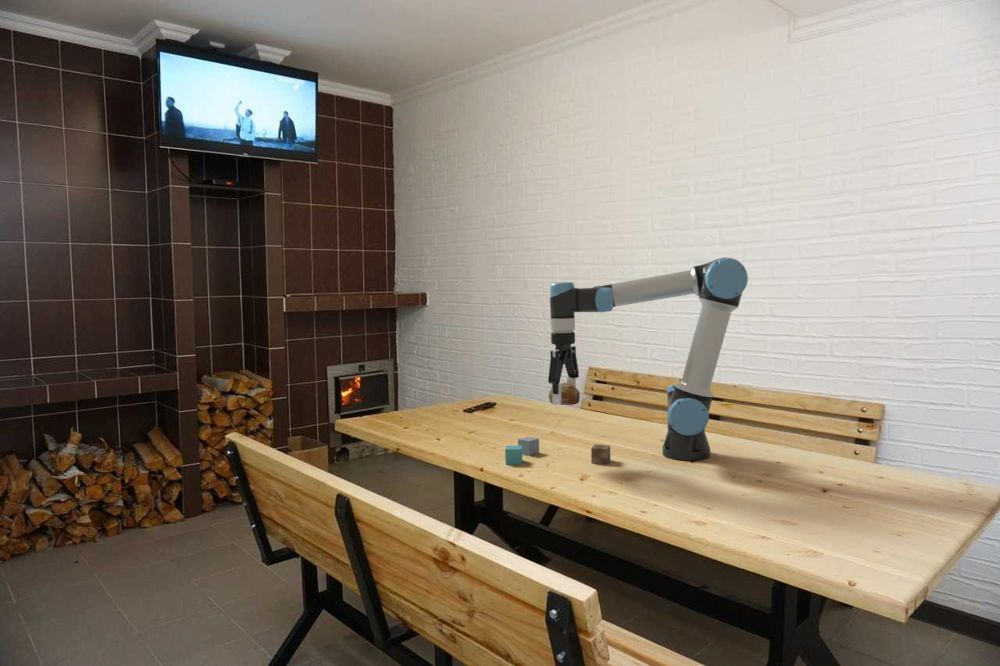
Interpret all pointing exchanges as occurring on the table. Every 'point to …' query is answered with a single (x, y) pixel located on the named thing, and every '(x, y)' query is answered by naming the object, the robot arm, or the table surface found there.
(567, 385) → the bread roll
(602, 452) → the walnut block
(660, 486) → the table surface
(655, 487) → the table surface
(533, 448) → the slate grey block
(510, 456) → the dark teal block
